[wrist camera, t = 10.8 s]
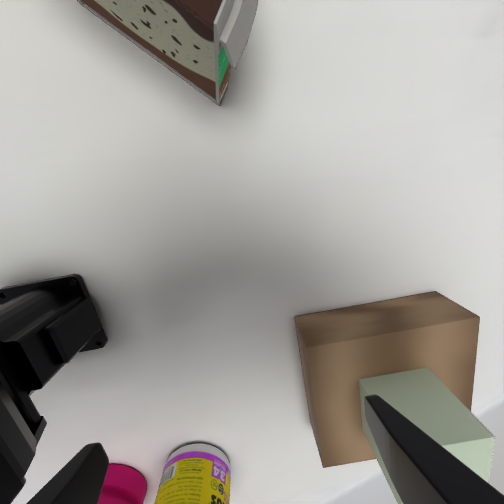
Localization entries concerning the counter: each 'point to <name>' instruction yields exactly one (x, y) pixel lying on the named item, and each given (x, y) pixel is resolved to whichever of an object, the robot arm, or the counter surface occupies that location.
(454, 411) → the sage cube
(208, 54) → the food container
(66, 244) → the counter surface
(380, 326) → the walnut block
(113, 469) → the pepper mill
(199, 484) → the supplement bottle
